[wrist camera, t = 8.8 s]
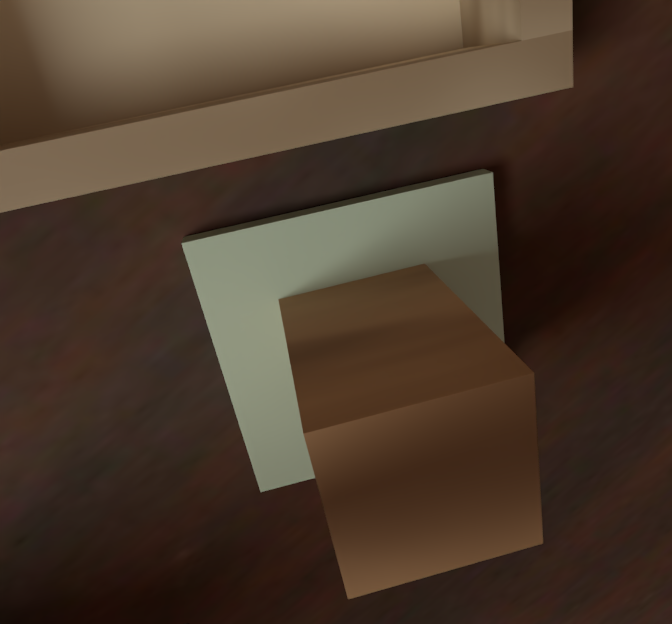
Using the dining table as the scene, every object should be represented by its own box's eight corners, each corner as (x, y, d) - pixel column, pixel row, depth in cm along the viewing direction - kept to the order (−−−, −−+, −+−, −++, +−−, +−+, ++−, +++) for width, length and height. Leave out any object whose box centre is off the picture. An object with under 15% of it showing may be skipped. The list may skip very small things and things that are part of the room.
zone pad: (501, 415, 18) (510, 426, 17) (259, 479, 17) (260, 492, 17) (483, 168, 15) (492, 172, 14) (183, 237, 14) (181, 243, 14)
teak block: (441, 388, 16) (543, 543, 11) (310, 423, 16) (348, 599, 11) (424, 263, 15) (534, 373, 9) (278, 299, 15) (303, 434, 9)
